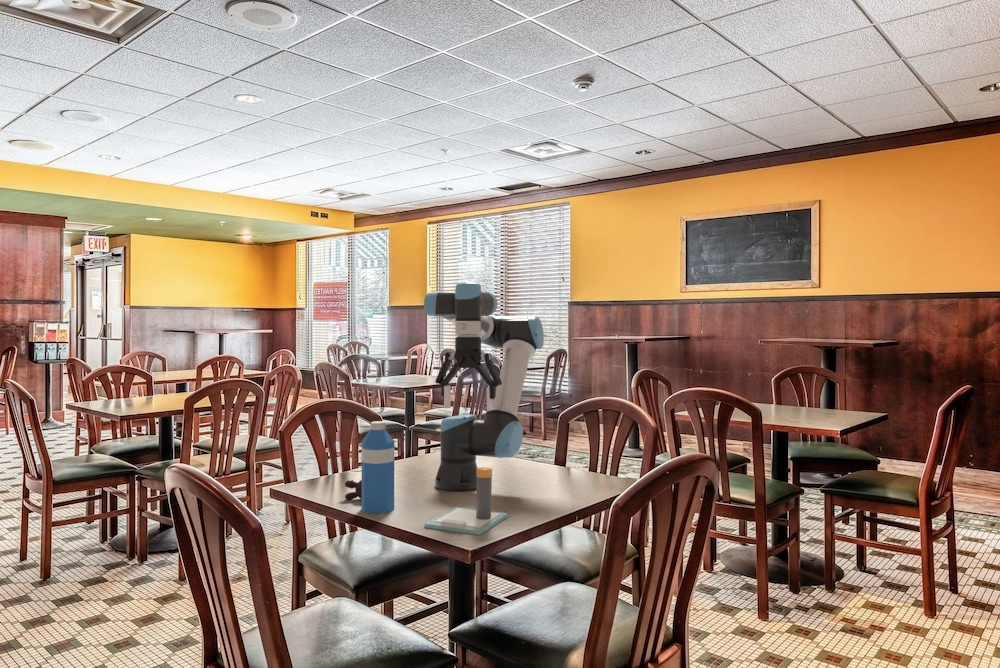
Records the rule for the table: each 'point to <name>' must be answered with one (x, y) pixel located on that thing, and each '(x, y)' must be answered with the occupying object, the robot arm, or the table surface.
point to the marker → (484, 493)
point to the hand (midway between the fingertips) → (468, 409)
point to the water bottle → (377, 470)
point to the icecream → (357, 487)
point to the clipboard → (465, 521)
